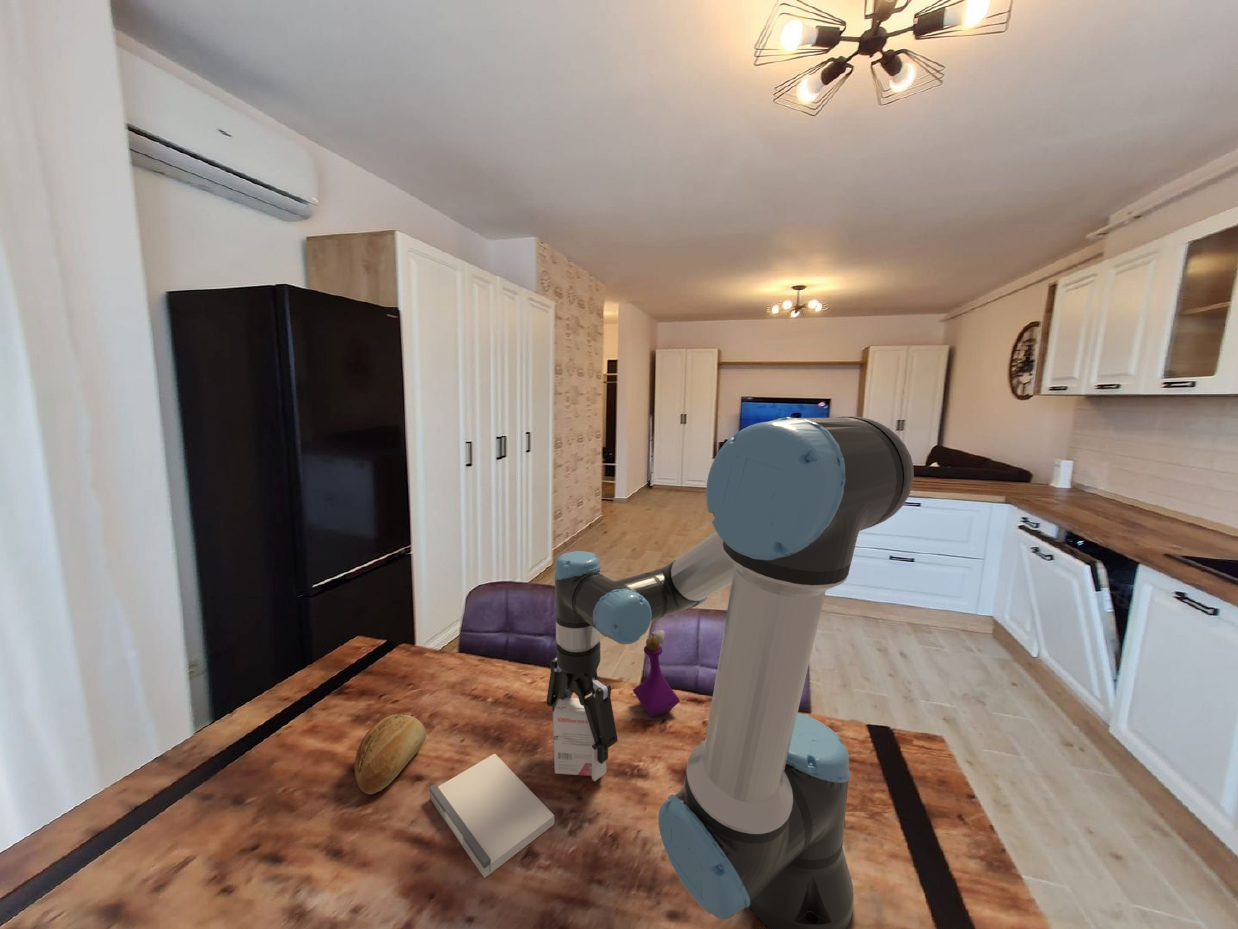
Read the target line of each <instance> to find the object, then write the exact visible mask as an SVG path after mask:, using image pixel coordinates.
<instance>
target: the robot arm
mask: <svg viewBox="0 0 1238 929" xmlns="http://www.w3.org/2000/svg"><path fill="white" fill-rule="evenodd" d="M914 470H915V469H914V463H913V460H912V456H911V454H910V451H909V450H908V448H907V446H906V444H905V443H904V442H903V440H902V439H901V438H900V437H899V436H898V434H897V433H895V432H894V431H893V430H892V429H890V428H889V427H887V426H886V425H883V424H882V423H880V422H878V421H876V420H872V419H871V418H870V419H869V418H866V417H860V416H838V417H798V418H797V417H790V416H789V417H788V416H786V417H781V418H776V419H773V420H770V421H769V420H768V421H762V422H757V423H754V424H751V425H748V426H747V427H744V428H743V429H740V431H738V432H737V433H735V434H734V435H733V436H731V437H729V439H728V440H726V442H724V444H723V445H722V447H720V449H719V450H718V452H717V453H716V455H715V457H714V459H713V461H712V463H711V465H710V468H709V472H708V475H707V476H708V477H707V481H706V488H705V496H706V497H705V498H706V499H705V500H706V507H707V512H708V513H710V514H712V515H713V518H714V519H713V520H712V522H711V524H712V525H713V528H714V530H715V531H714V532H713V533H712V534H711V535H709V536H708V537H706V538H705V539H703V540H702V541H700V542H698V543H697V544H696V545H694V546H693V547H692V548H690V549H688V550H687V551H686V552H684V553H683V554H681V555H680V556H678V557H677V558H676V559H675V560H673V561H671V562H670V563H668V564H667V565H665V566H663V567H662V568H657V569H655V570H652V571H649V572H645V573H640V574H636V575H634V576H629V577H626V578H623V579H619V580H613V579H611V578H609V577H606V576H605V575H603V574H601V566H600V559H599V556H598V555H597V554H595V553H594V552H591V551H585V550H584V551H582V550H578V551H577V550H575V551H569V552H565V553H563V554H560V555H559V556H558V557H557V558H556V559H555V566H554V568H555V569H554V574H555V575H554V578H553V580H554V595H555V596H554V597H555V615H556V616H555V618H556V619H555V641H556V657H555V658H553V659H550V661H549V665H550V673H549V674H550V676H549V682H548V688H547V695H546V702H545V703H546V706H547V707H551V708H552V709H551V710H552V712H553V711H554V708H555V706H556V703H557V701H558V699H561V700H563V699H565V698H567V697H569V698H572V695H573V694H575V695H576V696H577V698H579V701H580V704H581V705H583V706H584V709H585V712H586V715H587V719H588V722H589V725H590V729H591V732H592V735H593V738H594V742H593V743H592V744H591V754H592V776H591V780H592V781H594V782H596V781H597V780H598V779H600V778H602V777H603V776H604V775H605V774H607V761H608V760H609V748H610V747H612V746H613V745H614V744H616V743H617V742H618V735H617V734H618V733H617V728H616V723H615V722H616V721H615V716H614V709H613V705H612V699H611V695H612V686H611V684H610V683H606V684H603V683H601V681H599V677H598V673H597V672H598V671H597V670H598V667H599V665H600V663H601V635H602V636H604V637H605V638H609V639H611V640H613V641H614V642H616V643H617V644H620V645H632V644H635V643H636V642H638V641H639V640H640V638H641V637H642V636H643V635H645V634H646V633H647V632H648V630H649V628H650V626H651V623H652V622H655V621H658V620H660V619H661V618H664V617H667V616H668V617H669V616H671V615H673V614H676V613H679V612H681V611H687V610H691V609H692V608H695V607H697V606H699V605H700V604H703V603H704V602H705V601H706V600H708V597H710V596H711V595H714V594H716V593H717V592H720V591H721V590H723V589H724V588H727V587H728V586H730V585H731V586H730V593H729V598H728V604H727V609H726V616H725V621H724V622H725V623H724V627H723V628H724V629H723V633H722V634H723V635H722V638H721V639H722V641H721V644H720V652H719V656H718V657H719V658H718V663H717V670H716V675H715V681H714V688H713V692H712V699H711V705H710V711H709V716H708V722H707V727H706V735H705V740H703V741H701V742H700V743H698V744H697V745H696V746H695V747H693V748H694V749H692V751H691V752H690V755H689V757H688V759H687V764H686V769H685V774H684V781H683V786H682V787H681V789H680V790H679V791H678V792H677V793H675V794H670V795H669V796H668V797H667V799H666V800H665V801H664V802H663V803H662V804H661V805H660V807H659V810H658V817H657V818H658V819H657V821H658V829H659V834H660V838H661V841H662V842H661V843H662V844H663V847H664V850H665V852H666V854H667V857H668V859H669V862H670V864H671V866H672V867H673V870H674V872H675V873H676V875H677V877H678V878H679V880H680V882H681V884H682V885H683V887H685V889H686V890H687V892H688V894H689V895H690V896H691V897H692V898H693V900H695V902H696V903H697V904H698V905H699V906H700V907H701V908H702V909H703V910H705V912H707V913H708V914H710V915H713V916H714V917H716V918H717V919H720V920H728V919H731V918H733V917H735V916H736V915H737V914H739V913H740V912H741V911H742V910H744V909H746V908H747V909H750V911H752V913H753V914H754V915H755V916H756V917H757V919H759V920H760V921H761V922H762V923H763V924H764V925H766V926H767V928H769V929H848V927H849V925H850V922H851V920H852V916H853V910H854V909H853V908H854V899H855V898H854V893H855V892H854V885H853V881H852V877H851V873H850V870H849V866H848V863H847V859H846V855H845V852H844V849H843V843H844V834H845V833H844V832H845V821H846V811H847V800H848V789H849V780H850V779H851V771H850V769H849V768H850V756H849V751H848V749H847V747H846V745H845V744H844V742H843V740H842V739H841V737H840V736H839V734H837V733H836V732H835V731H834V730H833V729H831V728H830V727H829V726H827V725H826V724H825V723H823V722H821V721H819V720H818V719H816V718H814V717H811V716H809V715H806V714H803V713H799V708H800V704H801V700H802V695H803V690H804V686H805V682H806V678H807V673H808V670H809V664H810V660H811V656H812V652H813V647H814V644H815V638H816V634H817V629H818V627H819V621H820V618H821V613H822V608H823V603H824V599H825V595H826V591H827V590H829V589H833V588H835V587H837V586H839V585H842V584H843V583H844V582H846V581H847V579H848V576H849V572H850V569H851V564H852V561H853V556H854V553H855V548H856V545H857V544H856V543H857V540H858V537H859V534H860V532H862V531H863V530H867V529H870V528H873V527H875V526H877V525H879V524H881V523H884V522H886V521H888V519H890V518H892V517H893V516H894V515H895V514H897V513H898V512H899V510H901V509H902V508H903V506H904V505H905V503H906V501H907V500H908V498H909V496H910V494H911V491H912V489H913V484H914V476H915V473H914V472H915V471H914ZM590 694H591V695H590ZM600 736H601V737H600Z"/></svg>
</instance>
